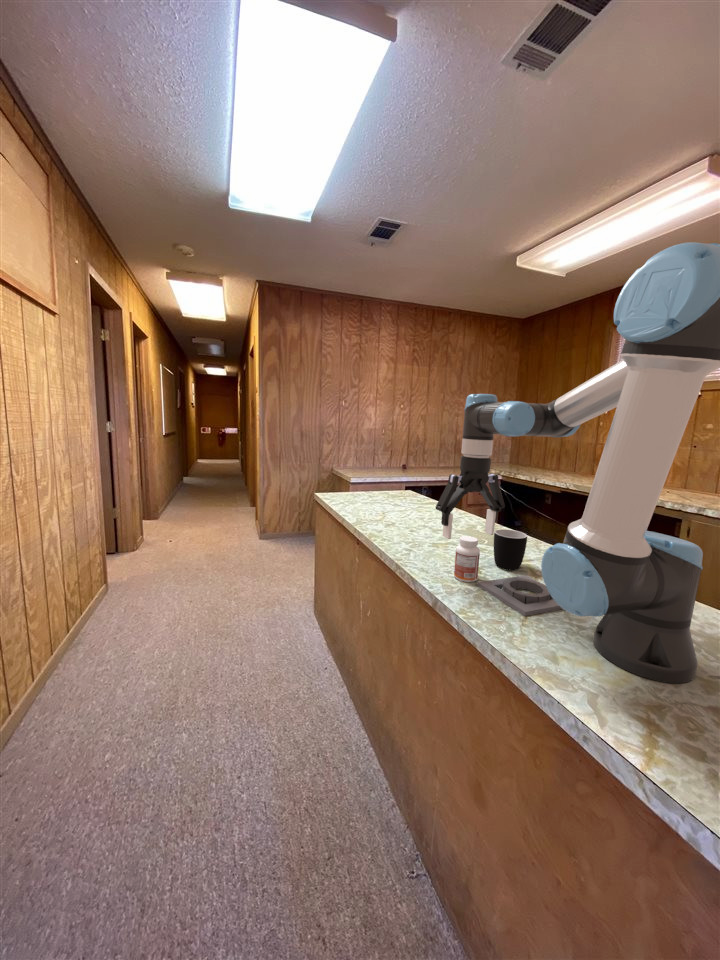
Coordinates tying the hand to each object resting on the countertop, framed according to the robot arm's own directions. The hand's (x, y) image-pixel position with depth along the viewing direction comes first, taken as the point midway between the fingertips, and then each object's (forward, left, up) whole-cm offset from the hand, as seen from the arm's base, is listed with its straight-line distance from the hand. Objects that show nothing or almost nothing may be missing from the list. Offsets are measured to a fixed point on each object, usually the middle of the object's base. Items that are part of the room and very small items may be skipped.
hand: (468, 535), depth 100 cm
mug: (+5, -18, -12) cm, 22 cm away
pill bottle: (0, 0, -12) cm, 12 cm away
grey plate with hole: (-13, -8, -12) cm, 20 cm away
